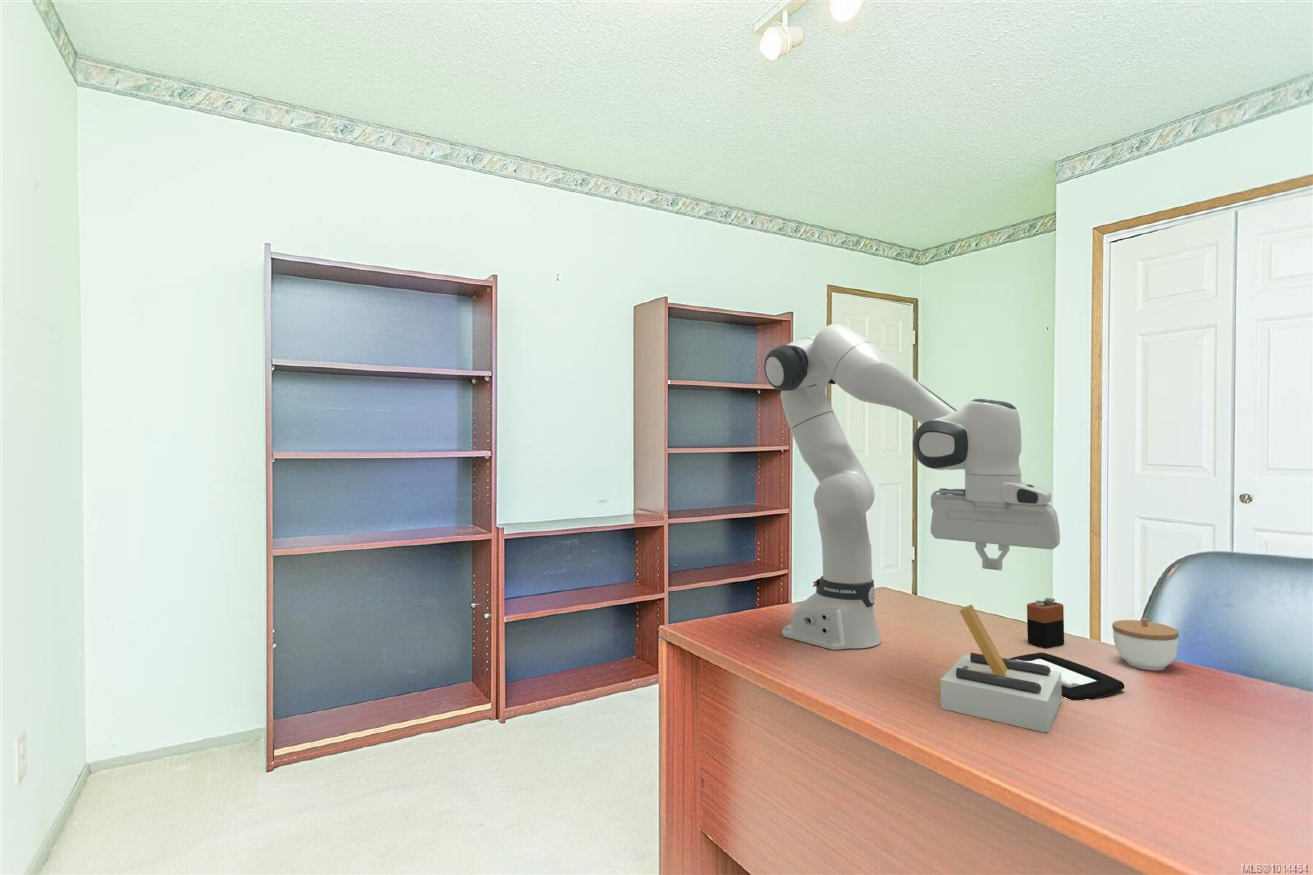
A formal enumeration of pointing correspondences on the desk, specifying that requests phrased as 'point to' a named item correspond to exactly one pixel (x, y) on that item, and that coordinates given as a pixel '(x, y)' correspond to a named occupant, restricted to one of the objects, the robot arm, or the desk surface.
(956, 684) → the box
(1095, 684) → the black picture frame
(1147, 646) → the lidded jar
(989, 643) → the lever
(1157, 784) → the desk surface
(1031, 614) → the battery
